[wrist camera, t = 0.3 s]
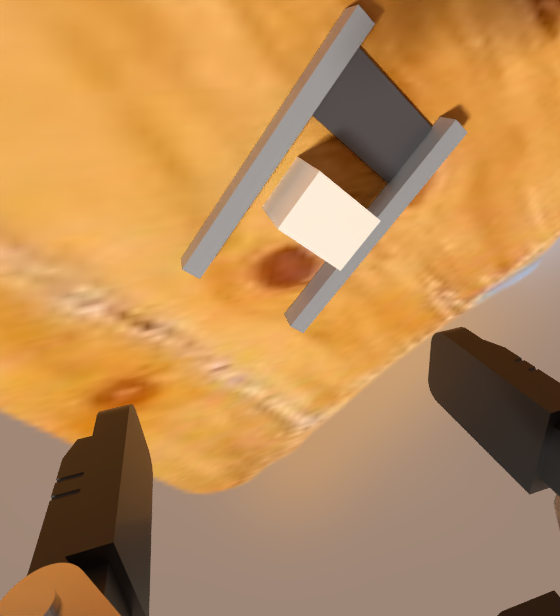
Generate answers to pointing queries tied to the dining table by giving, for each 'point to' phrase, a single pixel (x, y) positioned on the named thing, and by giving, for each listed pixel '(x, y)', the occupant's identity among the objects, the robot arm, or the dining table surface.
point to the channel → (350, 131)
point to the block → (319, 214)
